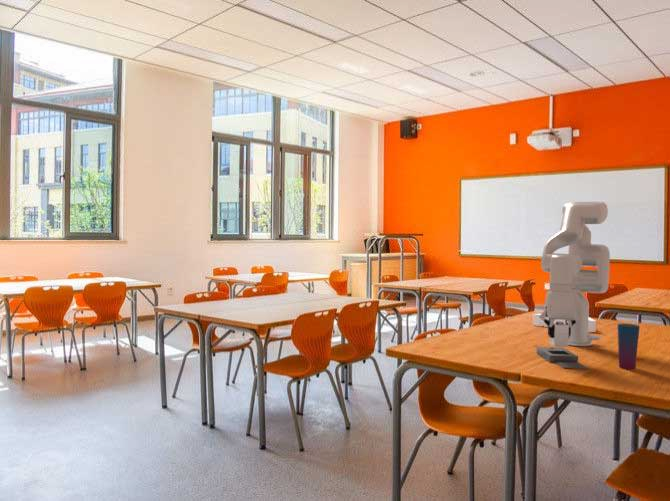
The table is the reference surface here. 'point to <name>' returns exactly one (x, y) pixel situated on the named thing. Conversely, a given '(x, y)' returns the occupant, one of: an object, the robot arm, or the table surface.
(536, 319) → the flat white box
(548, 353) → the dark grey flat block
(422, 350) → the table surface
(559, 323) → the white upright block
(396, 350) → the table surface
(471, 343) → the table surface
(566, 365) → the mat
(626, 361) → the cup
